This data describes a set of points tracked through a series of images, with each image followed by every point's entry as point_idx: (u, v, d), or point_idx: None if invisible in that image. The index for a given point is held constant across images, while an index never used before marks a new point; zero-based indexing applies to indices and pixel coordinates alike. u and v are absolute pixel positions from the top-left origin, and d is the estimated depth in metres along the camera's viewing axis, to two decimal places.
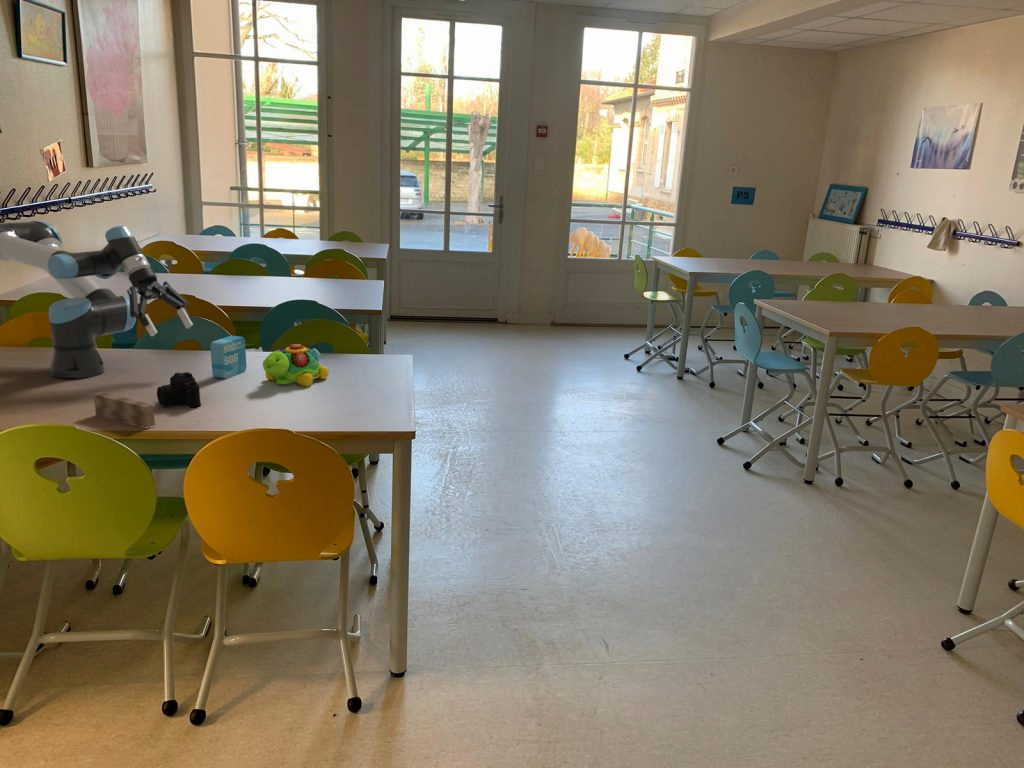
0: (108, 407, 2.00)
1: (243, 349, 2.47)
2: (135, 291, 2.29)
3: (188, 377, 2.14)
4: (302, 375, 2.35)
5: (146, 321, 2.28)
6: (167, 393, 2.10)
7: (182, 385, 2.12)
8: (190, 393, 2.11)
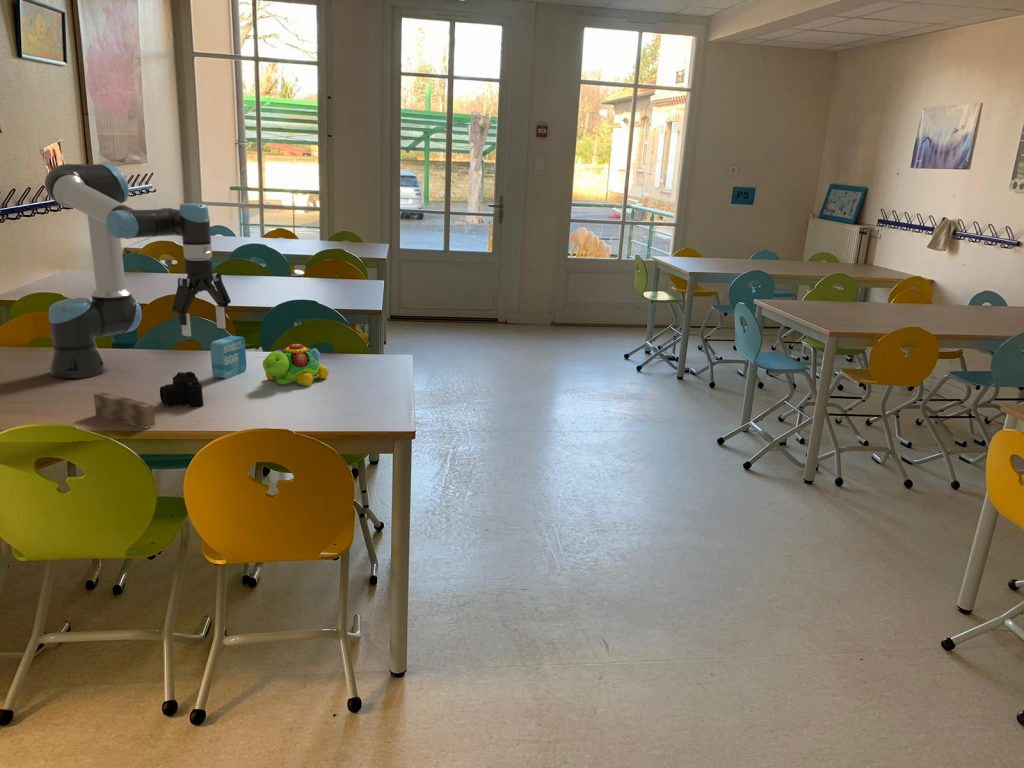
0: (108, 407, 2.00)
1: (243, 349, 2.47)
2: (186, 285, 2.11)
3: (191, 377, 2.14)
4: (302, 374, 2.36)
5: (185, 321, 2.13)
6: (170, 392, 2.10)
7: (185, 384, 2.13)
8: (193, 392, 2.11)
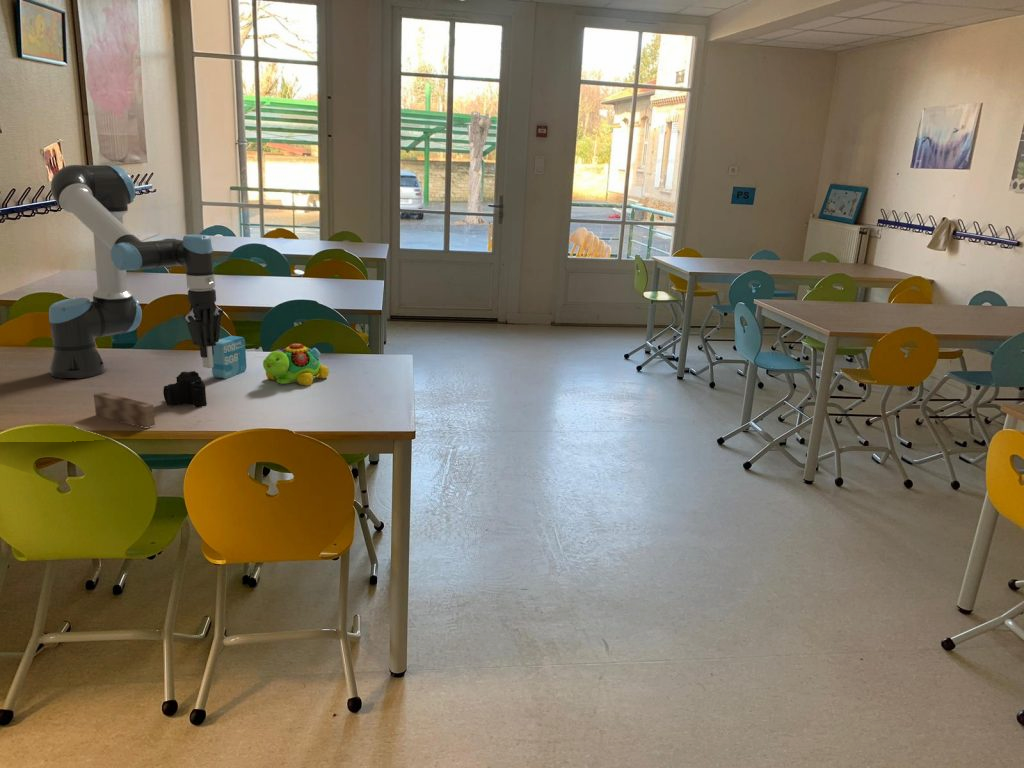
0: (108, 407, 2.00)
1: (243, 349, 2.47)
2: (194, 320, 2.14)
3: (194, 376, 2.15)
4: (302, 374, 2.36)
5: (206, 353, 2.21)
6: (173, 392, 2.11)
7: (188, 384, 2.13)
8: (196, 392, 2.12)
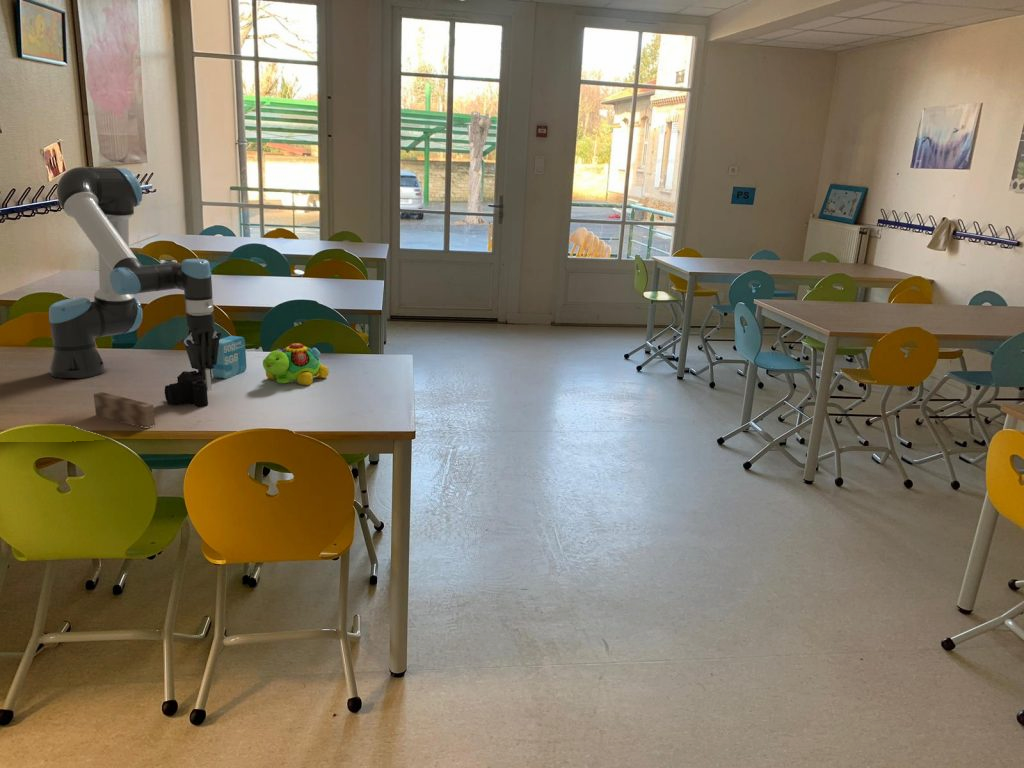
0: (108, 407, 2.00)
1: (243, 349, 2.47)
2: (192, 344, 2.15)
3: (195, 376, 2.15)
4: (302, 373, 2.36)
5: (204, 376, 2.22)
6: (175, 391, 2.11)
7: (190, 383, 2.13)
8: (198, 391, 2.12)
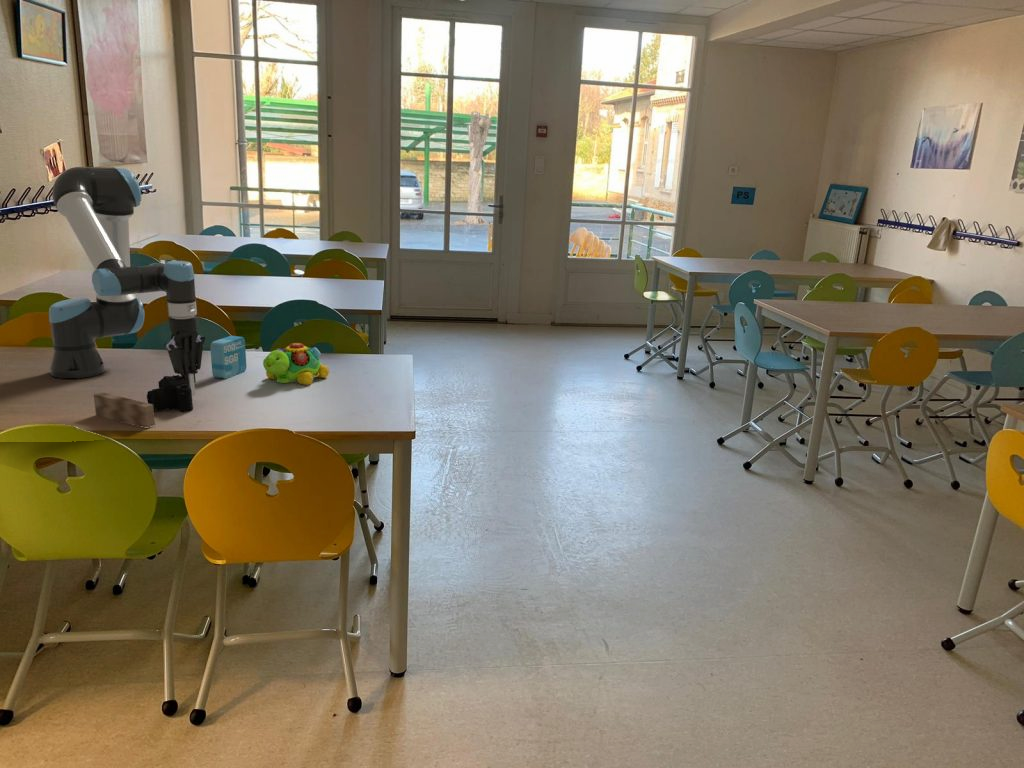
0: (108, 407, 2.00)
1: (243, 349, 2.47)
2: (175, 348, 2.10)
3: (179, 380, 2.10)
4: (302, 373, 2.37)
5: (187, 381, 2.17)
6: (159, 397, 2.06)
7: (174, 388, 2.08)
8: (183, 396, 2.07)
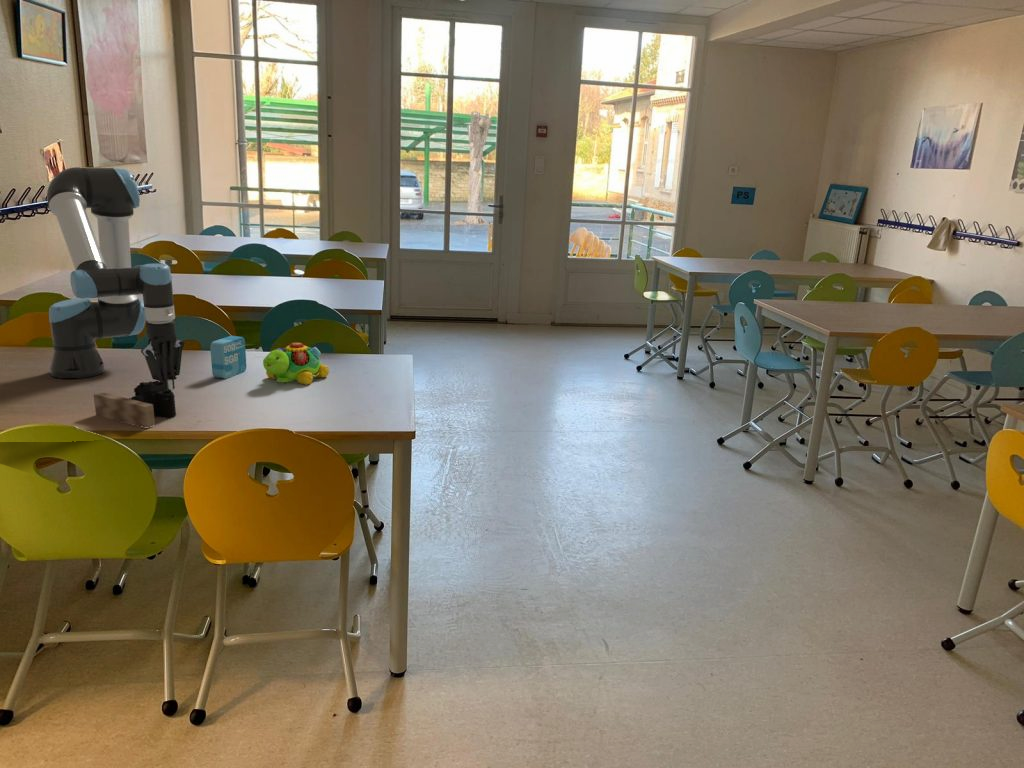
0: (108, 407, 2.00)
1: (243, 349, 2.47)
2: (152, 354, 2.04)
3: (159, 386, 2.04)
4: (302, 373, 2.37)
5: (166, 387, 2.10)
6: None
7: (155, 394, 2.03)
8: (166, 402, 2.02)
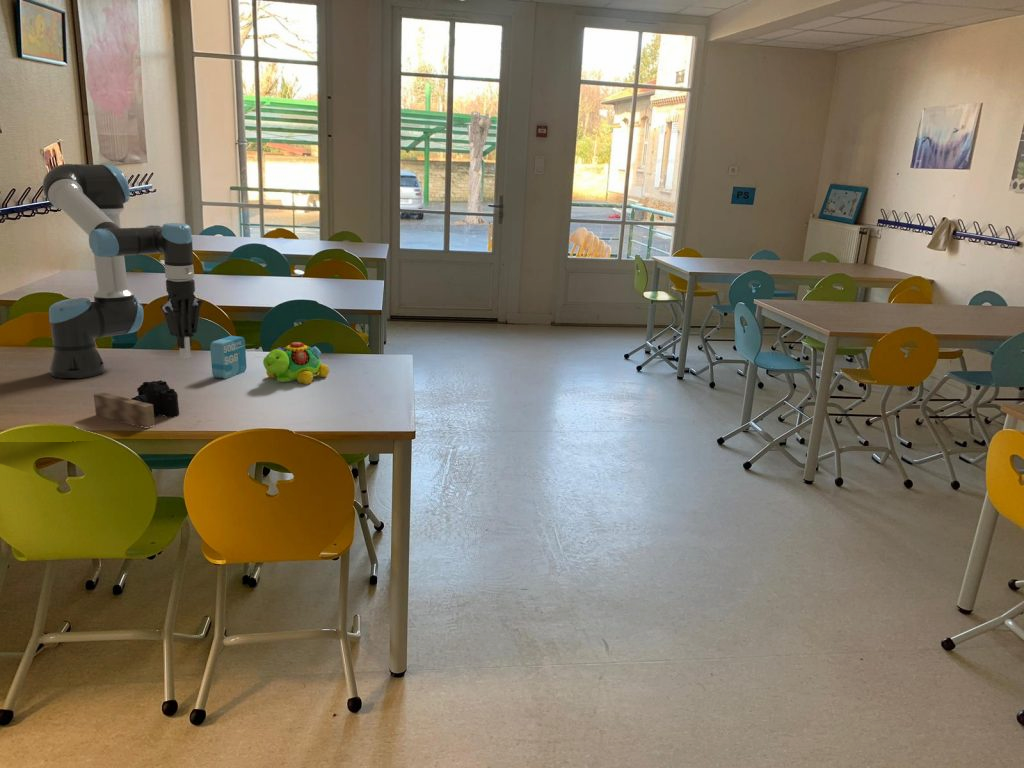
0: (108, 407, 2.00)
1: (243, 349, 2.47)
2: (171, 311, 2.11)
3: (163, 385, 2.05)
4: (302, 372, 2.38)
5: (183, 344, 2.17)
6: None
7: (159, 393, 2.04)
8: (169, 401, 2.03)
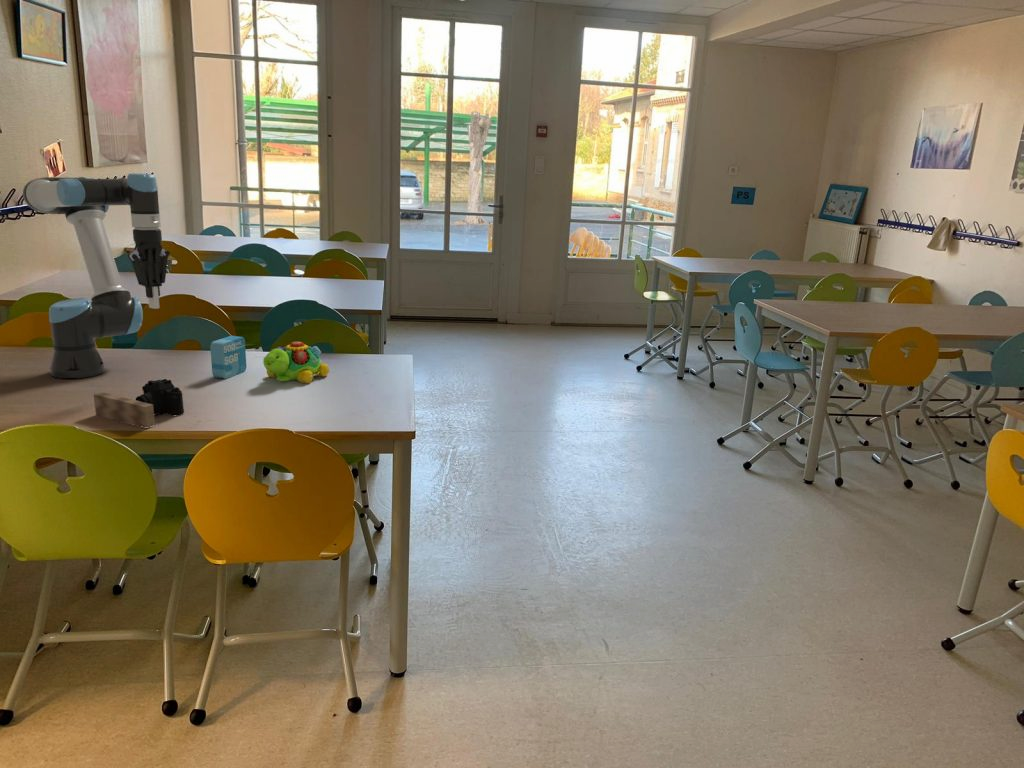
0: (108, 407, 2.00)
1: (243, 349, 2.47)
2: (138, 259, 2.15)
3: (168, 384, 2.07)
4: (302, 372, 2.38)
5: (151, 293, 2.22)
6: (150, 402, 2.02)
7: (164, 392, 2.05)
8: (174, 400, 2.04)
